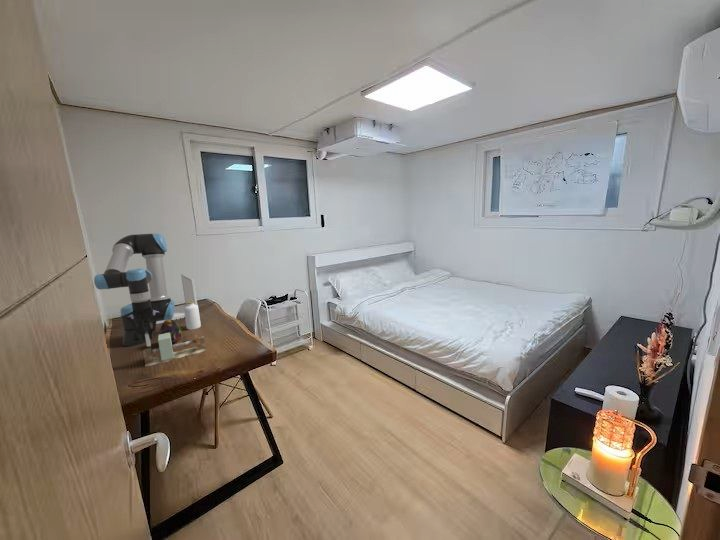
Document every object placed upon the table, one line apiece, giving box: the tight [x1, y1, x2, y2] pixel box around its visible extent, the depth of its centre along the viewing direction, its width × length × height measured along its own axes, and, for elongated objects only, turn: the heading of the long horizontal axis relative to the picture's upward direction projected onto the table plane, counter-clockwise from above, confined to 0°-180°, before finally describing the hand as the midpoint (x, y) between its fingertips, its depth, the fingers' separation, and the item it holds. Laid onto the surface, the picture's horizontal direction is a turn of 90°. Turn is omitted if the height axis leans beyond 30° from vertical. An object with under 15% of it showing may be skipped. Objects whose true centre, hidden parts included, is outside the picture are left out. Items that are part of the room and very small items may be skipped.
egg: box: [159, 319, 183, 345], centre depth 167 cm, size 11×11×15 cm
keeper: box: [157, 333, 174, 361], centre depth 150 cm, size 5×9×11 cm, turn 33°
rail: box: [142, 333, 207, 367], centre depth 153 cm, size 27×9×8 cm, turn 123°
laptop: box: [156, 273, 198, 325], centre depth 222 cm, size 34×28×28 cm
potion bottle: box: [184, 301, 202, 331], centre depth 191 cm, size 8×8×18 cm
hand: (148, 345), depth 146 cm, fingers closed
